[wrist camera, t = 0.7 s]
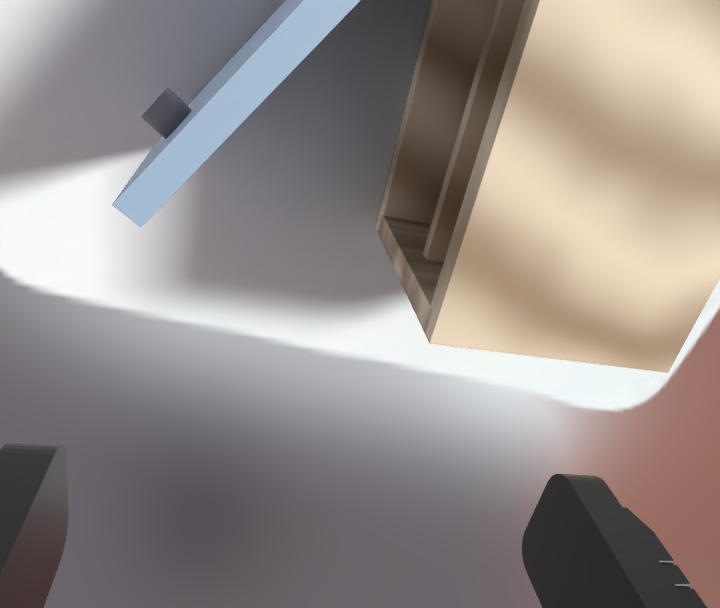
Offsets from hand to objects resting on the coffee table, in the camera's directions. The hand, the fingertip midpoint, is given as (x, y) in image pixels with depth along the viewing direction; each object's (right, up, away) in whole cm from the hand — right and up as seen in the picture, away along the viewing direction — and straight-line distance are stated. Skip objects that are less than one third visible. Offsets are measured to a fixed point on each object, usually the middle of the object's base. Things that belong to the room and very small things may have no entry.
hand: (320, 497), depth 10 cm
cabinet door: (-2, +20, +20) cm, 28 cm away
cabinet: (+10, +16, +24) cm, 31 cm away
